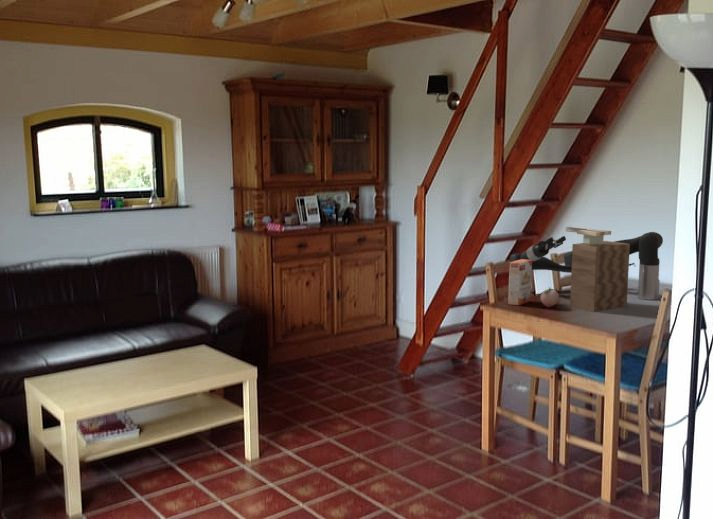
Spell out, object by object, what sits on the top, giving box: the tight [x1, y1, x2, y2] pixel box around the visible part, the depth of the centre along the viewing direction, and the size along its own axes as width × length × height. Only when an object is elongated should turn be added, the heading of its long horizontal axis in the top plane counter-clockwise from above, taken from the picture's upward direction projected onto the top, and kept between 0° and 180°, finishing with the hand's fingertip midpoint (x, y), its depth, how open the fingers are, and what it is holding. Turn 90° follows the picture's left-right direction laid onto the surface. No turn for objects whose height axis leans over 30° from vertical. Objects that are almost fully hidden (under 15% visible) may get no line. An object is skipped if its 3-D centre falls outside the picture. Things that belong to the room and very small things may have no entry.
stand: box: [569, 240, 630, 313], centre depth 345 cm, size 23×14×30 cm, turn 121°
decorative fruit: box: [539, 286, 560, 309], centre depth 344 cm, size 9×8×10 cm
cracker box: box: [507, 259, 533, 307], centre depth 354 cm, size 14×6×21 cm, turn 143°
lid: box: [565, 226, 612, 236], centre depth 343 cm, size 10×22×2 cm, turn 32°
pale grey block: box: [582, 235, 605, 246], centre depth 340 cm, size 9×9×5 cm
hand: (558, 238), depth 358 cm, fingers open, 8 cm apart
